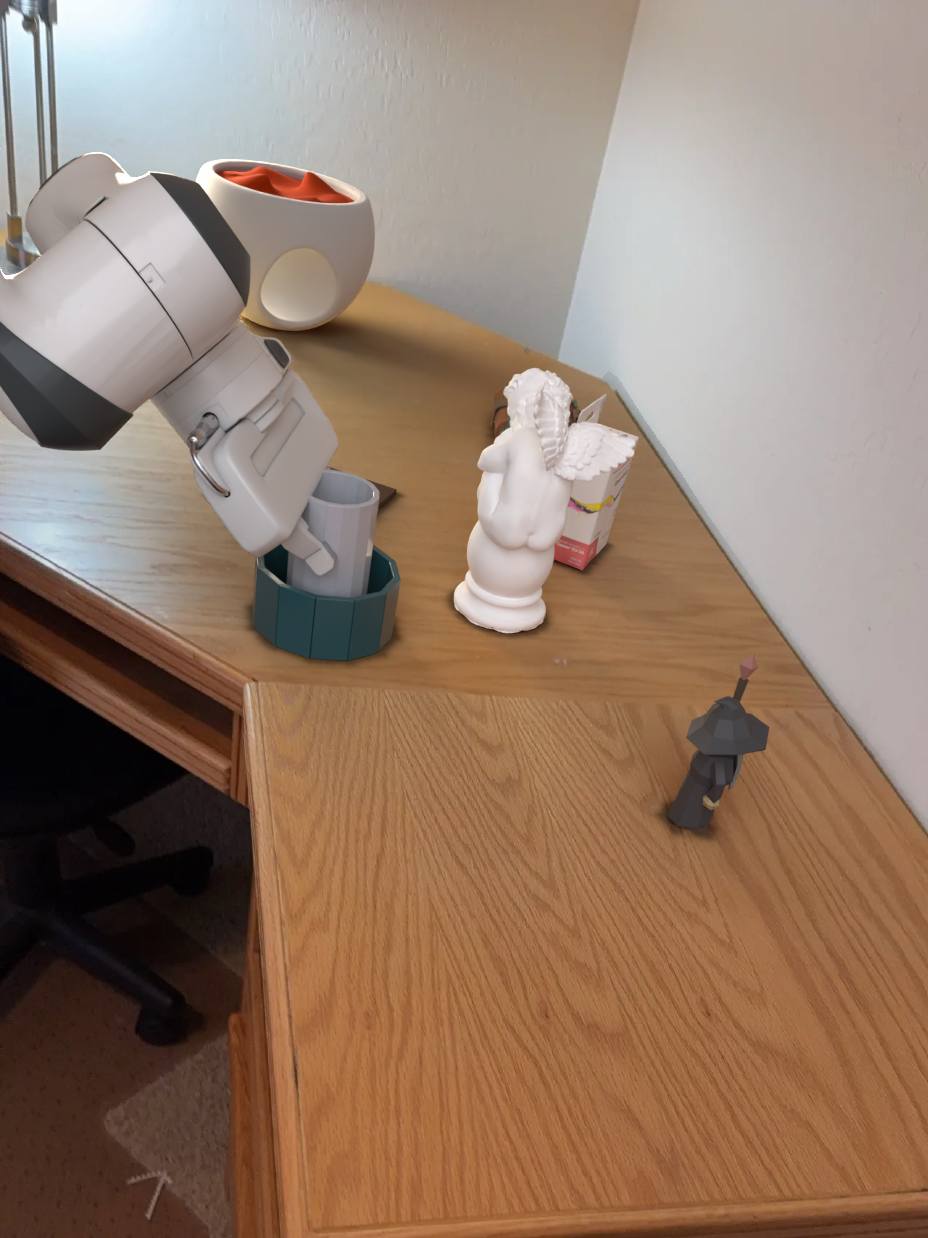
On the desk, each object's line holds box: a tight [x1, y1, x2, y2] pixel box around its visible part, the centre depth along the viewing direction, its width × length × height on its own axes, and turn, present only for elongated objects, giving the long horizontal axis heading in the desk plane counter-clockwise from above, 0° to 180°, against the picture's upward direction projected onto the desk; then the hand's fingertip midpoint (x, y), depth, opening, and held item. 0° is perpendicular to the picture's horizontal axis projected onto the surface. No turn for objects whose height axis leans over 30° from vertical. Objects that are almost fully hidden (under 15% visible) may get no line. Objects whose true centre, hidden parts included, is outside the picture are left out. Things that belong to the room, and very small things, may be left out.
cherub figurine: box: [453, 367, 635, 634], centre depth 90 cm, size 12×12×22 cm
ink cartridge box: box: [554, 393, 640, 571], centre depth 106 cm, size 9×5×15 cm, turn 157°
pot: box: [195, 158, 376, 332], centre depth 142 cm, size 24×24×18 cm
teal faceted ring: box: [252, 544, 402, 662], centre depth 88 cm, size 12×12×6 cm
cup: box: [286, 470, 379, 598], centre depth 86 cm, size 7×7×12 cm
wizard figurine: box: [666, 653, 770, 835], centre depth 76 cm, size 8×6×12 cm
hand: (339, 546), depth 85 cm, fingers closed on cup, 7 cm apart
